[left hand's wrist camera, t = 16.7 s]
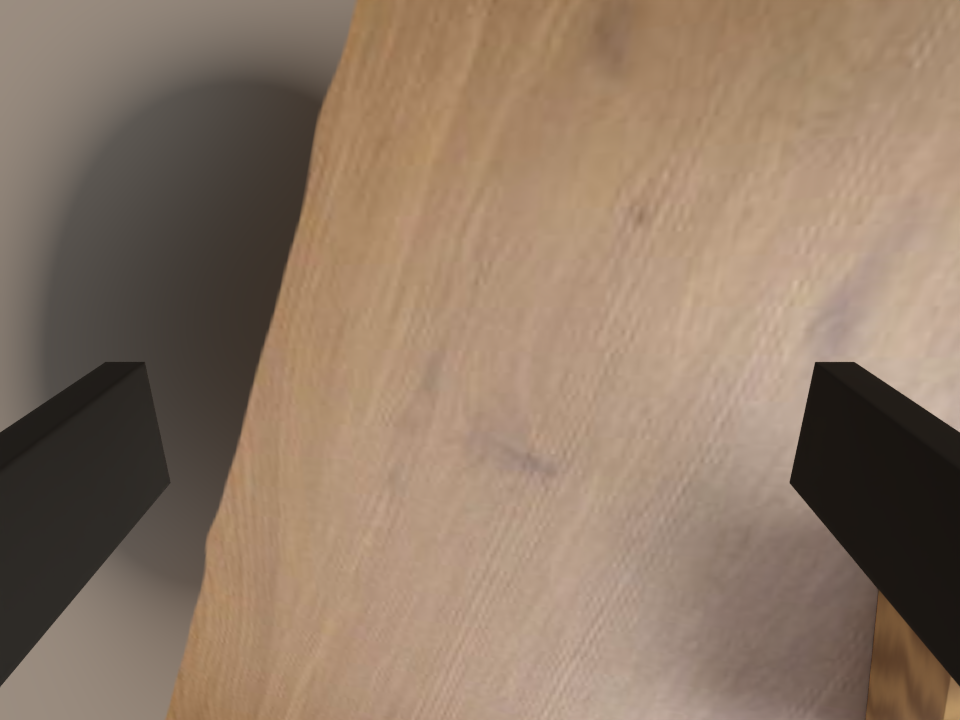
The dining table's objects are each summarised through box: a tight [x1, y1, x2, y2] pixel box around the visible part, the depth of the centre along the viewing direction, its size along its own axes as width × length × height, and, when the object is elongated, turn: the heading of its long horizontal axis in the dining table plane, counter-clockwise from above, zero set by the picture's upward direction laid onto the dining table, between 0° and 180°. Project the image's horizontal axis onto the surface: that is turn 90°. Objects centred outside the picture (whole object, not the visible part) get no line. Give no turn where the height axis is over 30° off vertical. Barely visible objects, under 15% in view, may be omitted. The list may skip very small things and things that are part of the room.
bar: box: [866, 591, 960, 720], centre depth 49 cm, size 22×5×8 cm, turn 9°
